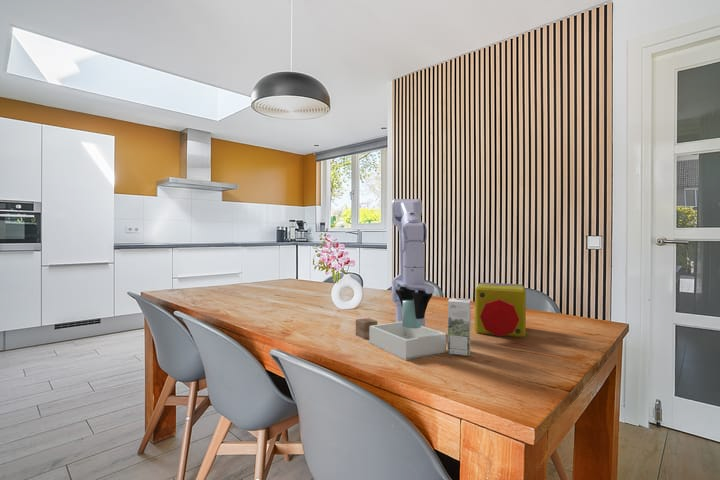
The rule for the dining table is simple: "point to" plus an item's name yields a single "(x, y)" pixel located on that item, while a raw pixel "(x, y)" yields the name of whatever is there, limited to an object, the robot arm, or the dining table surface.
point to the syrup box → (459, 326)
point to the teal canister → (410, 315)
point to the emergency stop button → (500, 309)
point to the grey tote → (407, 340)
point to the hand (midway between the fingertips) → (413, 316)
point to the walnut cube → (364, 327)
